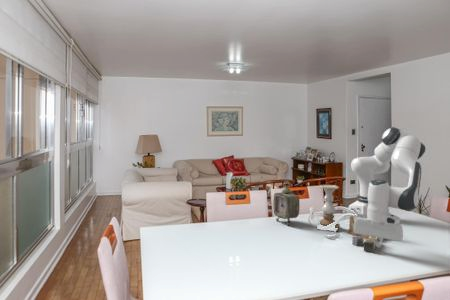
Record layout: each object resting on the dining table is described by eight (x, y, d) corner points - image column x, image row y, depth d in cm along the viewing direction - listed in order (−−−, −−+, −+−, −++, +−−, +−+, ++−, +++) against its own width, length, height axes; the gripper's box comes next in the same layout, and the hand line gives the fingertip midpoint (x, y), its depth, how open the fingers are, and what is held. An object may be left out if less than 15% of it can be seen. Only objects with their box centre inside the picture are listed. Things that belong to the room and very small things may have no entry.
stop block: (352, 244, 157) (352, 237, 157) (359, 242, 159) (359, 235, 159) (356, 246, 155) (357, 238, 154) (363, 244, 157) (363, 237, 157)
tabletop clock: (273, 220, 199) (273, 179, 197) (285, 219, 202) (286, 178, 201) (287, 226, 186) (288, 183, 184) (300, 225, 189) (301, 182, 188)
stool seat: (348, 233, 174) (348, 216, 174) (361, 230, 180) (362, 213, 179) (375, 242, 161) (376, 223, 160) (389, 238, 166) (389, 220, 166)
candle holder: (316, 229, 181) (317, 186, 180) (320, 224, 191) (321, 183, 190) (336, 232, 176) (337, 188, 175) (339, 227, 186) (341, 185, 185)
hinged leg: (370, 241, 160) (370, 233, 160) (379, 243, 158) (379, 235, 158) (363, 250, 148) (364, 242, 148) (372, 252, 146) (373, 243, 145)
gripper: (351, 214, 151) (351, 243, 151) (401, 221, 138) (400, 253, 139) (355, 211, 156) (355, 240, 156) (404, 218, 143) (403, 249, 144)
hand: (377, 246), depth 147 cm, fingers closed
